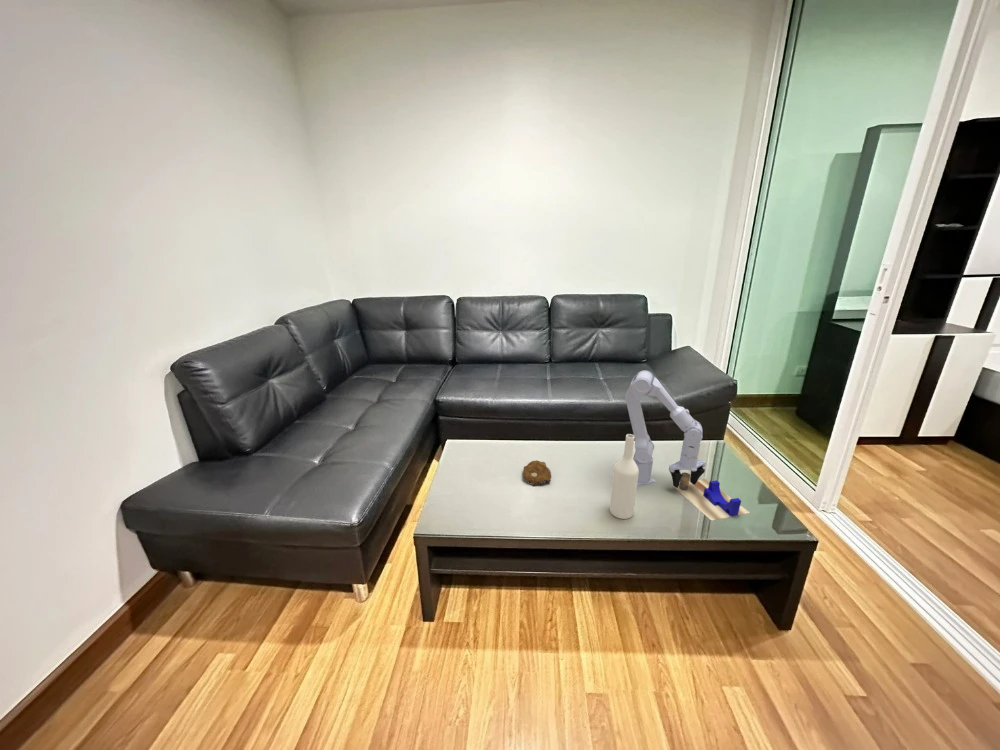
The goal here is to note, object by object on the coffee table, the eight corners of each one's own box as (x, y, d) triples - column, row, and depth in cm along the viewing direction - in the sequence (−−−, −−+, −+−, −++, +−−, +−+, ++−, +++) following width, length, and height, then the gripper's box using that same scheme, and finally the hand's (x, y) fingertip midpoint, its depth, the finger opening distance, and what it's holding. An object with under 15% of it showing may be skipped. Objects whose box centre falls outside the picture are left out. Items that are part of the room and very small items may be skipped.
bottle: (621, 501, 143) (630, 428, 133) (638, 514, 136) (648, 438, 126) (604, 508, 140) (612, 433, 130) (620, 522, 133) (630, 444, 123)
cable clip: (703, 495, 146) (706, 481, 144) (713, 494, 147) (716, 480, 145) (726, 516, 135) (729, 502, 133) (737, 515, 136) (741, 500, 134)
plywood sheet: (711, 521, 133) (711, 520, 133) (671, 485, 152) (671, 484, 152) (749, 513, 137) (750, 512, 137) (706, 479, 156) (706, 478, 156)
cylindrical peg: (682, 490, 148) (685, 477, 146) (677, 486, 151) (679, 473, 149) (689, 489, 149) (692, 476, 147) (684, 485, 152) (686, 471, 150)
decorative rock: (521, 466, 166) (524, 489, 152) (521, 458, 165) (524, 480, 151) (548, 464, 166) (553, 487, 152) (548, 456, 165) (553, 478, 151)
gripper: (679, 462, 140) (674, 493, 144) (714, 456, 143) (707, 488, 148) (667, 452, 146) (662, 482, 151) (700, 447, 150) (694, 477, 154)
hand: (684, 484), depth 150 cm, fingers open, 7 cm apart
